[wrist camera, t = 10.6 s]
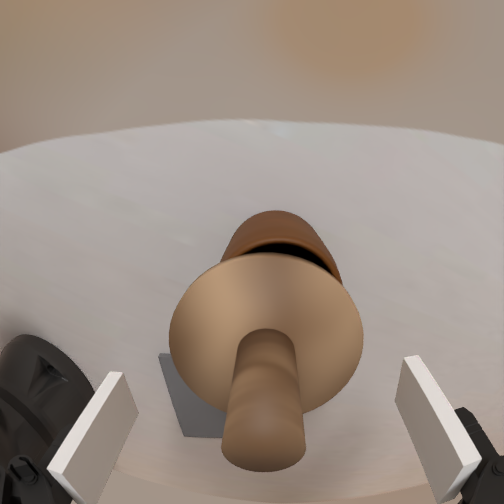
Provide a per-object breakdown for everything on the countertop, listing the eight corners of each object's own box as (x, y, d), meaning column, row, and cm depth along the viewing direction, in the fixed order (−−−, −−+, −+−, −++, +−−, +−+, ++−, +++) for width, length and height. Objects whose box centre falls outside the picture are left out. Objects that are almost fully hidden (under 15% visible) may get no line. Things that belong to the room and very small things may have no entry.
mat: (184, 432, 33) (183, 436, 32) (160, 353, 30) (158, 356, 29) (286, 432, 32) (286, 436, 31) (282, 350, 29) (282, 353, 28)
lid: (191, 409, 20) (164, 502, 12) (158, 258, 17) (84, 330, 9) (351, 402, 19) (377, 496, 11) (363, 245, 16) (432, 313, 8)
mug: (296, 344, 29) (305, 415, 19) (215, 330, 28) (195, 398, 19) (330, 218, 25) (363, 250, 16) (237, 199, 25) (220, 221, 16)
